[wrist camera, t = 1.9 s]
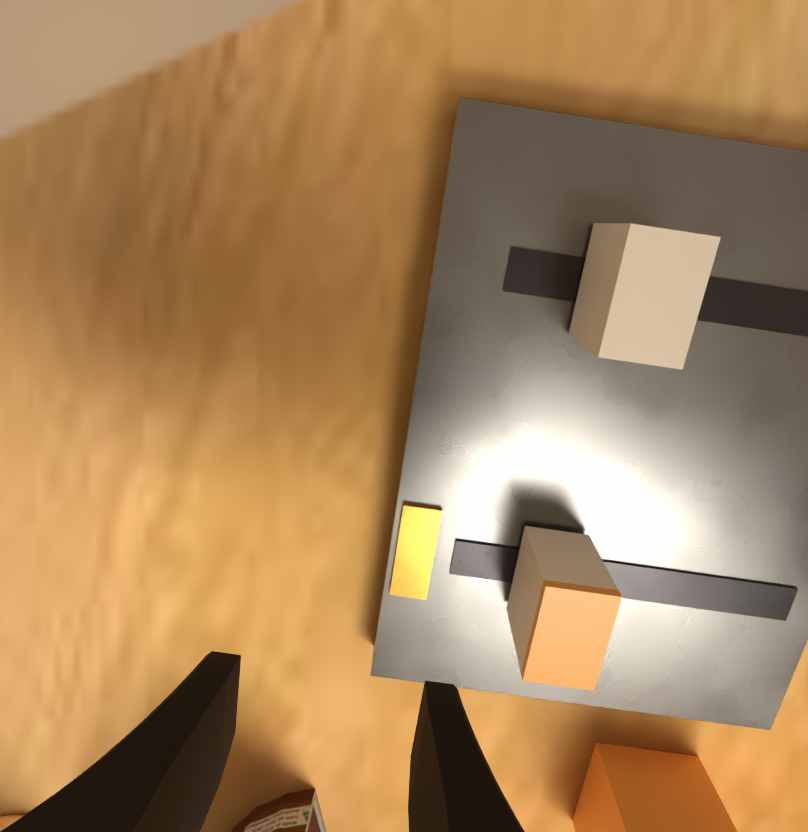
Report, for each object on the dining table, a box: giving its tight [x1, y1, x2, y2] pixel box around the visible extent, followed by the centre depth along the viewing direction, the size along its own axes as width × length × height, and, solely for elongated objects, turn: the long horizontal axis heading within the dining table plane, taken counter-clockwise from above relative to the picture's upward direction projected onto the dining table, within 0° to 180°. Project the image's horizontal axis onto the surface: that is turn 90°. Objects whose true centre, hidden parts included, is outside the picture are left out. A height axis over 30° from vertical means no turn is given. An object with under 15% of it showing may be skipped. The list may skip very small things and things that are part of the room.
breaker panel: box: [370, 97, 808, 730], centre depth 19 cm, size 14×18×2 cm
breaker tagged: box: [506, 526, 622, 691], centre depth 18 cm, size 2×3×3 cm, turn 171°
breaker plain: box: [568, 223, 721, 370], centre depth 15 cm, size 2×3×3 cm, turn 172°
